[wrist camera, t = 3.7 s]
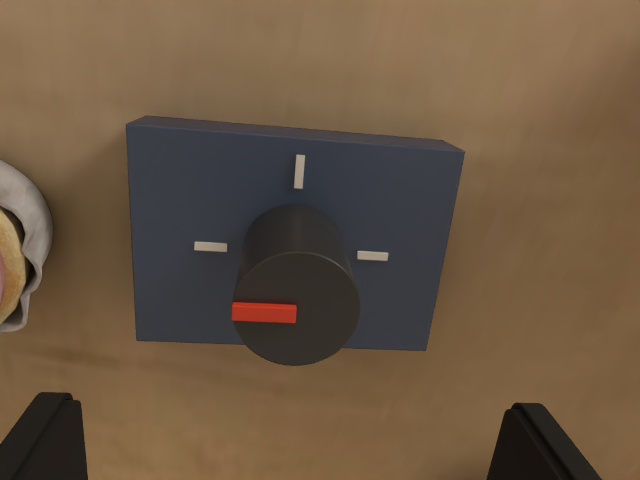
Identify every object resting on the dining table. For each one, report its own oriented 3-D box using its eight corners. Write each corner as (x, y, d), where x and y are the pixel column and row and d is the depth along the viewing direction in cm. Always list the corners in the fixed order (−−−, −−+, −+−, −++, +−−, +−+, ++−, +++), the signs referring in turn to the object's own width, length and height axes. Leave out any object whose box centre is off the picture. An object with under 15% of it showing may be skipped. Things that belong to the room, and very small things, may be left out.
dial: (347, 207, 21) (370, 258, 15) (336, 297, 22) (354, 373, 17) (244, 200, 20) (232, 251, 15) (241, 292, 22) (228, 369, 16)
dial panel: (443, 140, 23) (467, 151, 20) (410, 320, 27) (427, 353, 24) (145, 115, 22) (124, 124, 19) (152, 310, 25) (134, 343, 22)
